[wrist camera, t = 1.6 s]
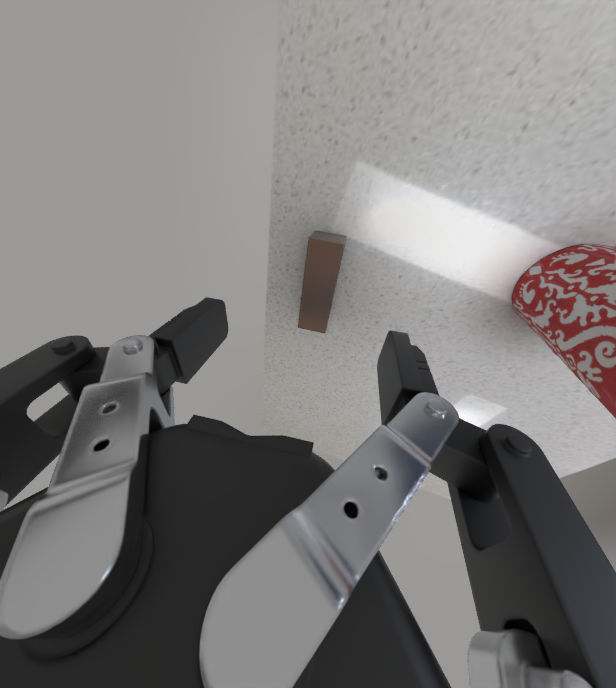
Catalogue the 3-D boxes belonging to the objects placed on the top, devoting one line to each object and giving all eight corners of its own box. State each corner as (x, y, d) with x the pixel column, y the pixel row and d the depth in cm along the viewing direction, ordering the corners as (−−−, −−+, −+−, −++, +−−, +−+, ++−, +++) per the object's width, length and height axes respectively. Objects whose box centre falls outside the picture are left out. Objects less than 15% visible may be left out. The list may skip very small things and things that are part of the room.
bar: (315, 230, 21) (308, 237, 19) (346, 236, 21) (344, 244, 18) (304, 312, 27) (297, 327, 24) (328, 318, 27) (325, 333, 24)
